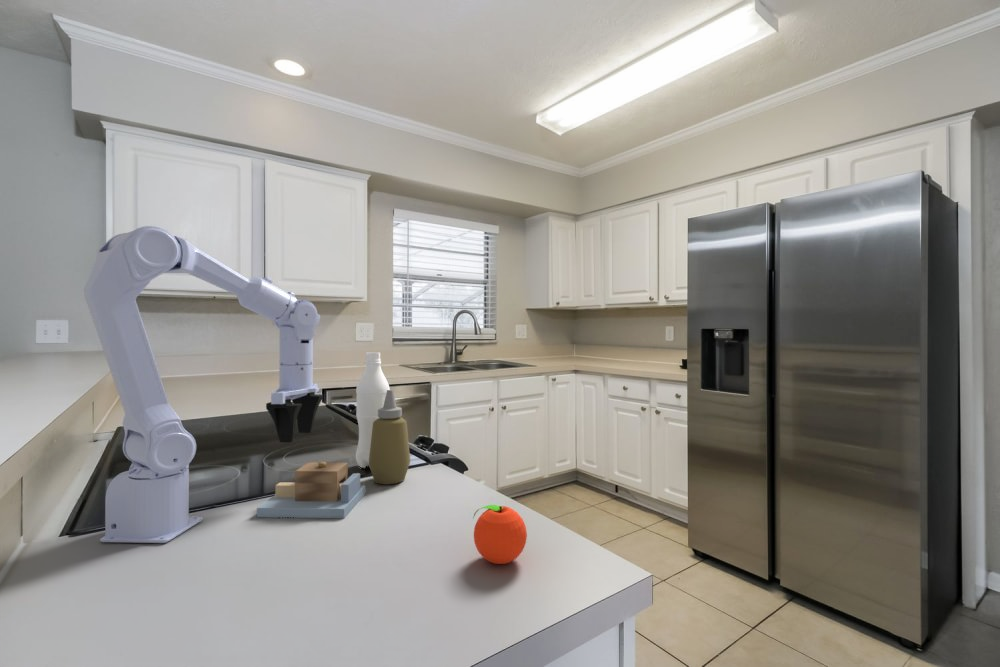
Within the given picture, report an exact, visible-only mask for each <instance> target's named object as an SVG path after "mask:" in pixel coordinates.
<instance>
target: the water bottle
mask: <svg viewBox="0 0 1000 667" xmlns="http://www.w3.org/2000/svg"><path fill="white" fill-rule="evenodd" d="M365 353H366V354H365V356H366V357H365V358H366V359H365V362H364V365H365V367H364V368H365V369H364V372H363V373H362V374H361V375H362V376H361V377H360V379H359V381H358V382H357V385H356V388H355V393H356V414H355V417H356V420H357V423H358V424H357V426H358V441H357V442H358V443H357V446H356V450H355V460H356V463H357V465H358V467H359V466H360V467H366V466H367V467H369V468H370V466H369V455H370V446H371V436H372V427H373V422H374V421H375V420H376V419H378V418H379V417H378V409H379V408H383V406H384V402H385V397H386V393H387V390H391V389H390V385H389V382H388V380H387V378H386V376H385V374H384V372H383V370H382V367H381V365H382V359H381V352H378V351H377V352H375V351H371V352H365ZM360 467H359V468H360Z"/></svg>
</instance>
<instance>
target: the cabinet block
mask: <svg viewBox="0 0 1000 667" xmlns="http://www.w3.org/2000/svg"><path fill="white" fill-rule="evenodd" d="M348 467H349V463H348V462H326V461H319V462H313V461H311V462H309V461H307V462H306V463H305V464H304V465H302V466H300V467H299V468H298V469H295V471H294V482H295V501H325V502H337V501H338V500H339V483H344V482H345V481H346V480H347V479H348V478H349V476H348V475H349V474H348V473H349V472H348V470H349V468H348Z"/></svg>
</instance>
